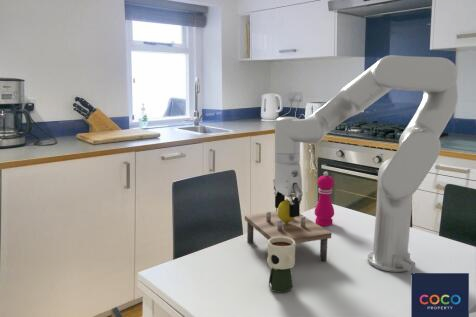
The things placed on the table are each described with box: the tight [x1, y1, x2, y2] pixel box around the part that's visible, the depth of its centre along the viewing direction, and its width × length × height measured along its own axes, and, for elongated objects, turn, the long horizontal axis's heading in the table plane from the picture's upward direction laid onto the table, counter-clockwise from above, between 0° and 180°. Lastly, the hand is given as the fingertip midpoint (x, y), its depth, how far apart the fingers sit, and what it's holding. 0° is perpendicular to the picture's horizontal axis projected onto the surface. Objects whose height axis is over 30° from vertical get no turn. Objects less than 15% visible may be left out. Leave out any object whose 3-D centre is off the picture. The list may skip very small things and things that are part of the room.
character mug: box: [266, 237, 296, 293], centre depth 110 cm, size 11×7×13 cm, turn 25°
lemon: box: [277, 198, 294, 224], centre depth 132 cm, size 6×6×8 cm
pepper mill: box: [314, 171, 335, 227], centre depth 157 cm, size 7×7×20 cm
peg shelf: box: [244, 210, 332, 263], centre depth 133 cm, size 24×18×12 cm
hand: (286, 211), depth 132 cm, fingers open, 9 cm apart
